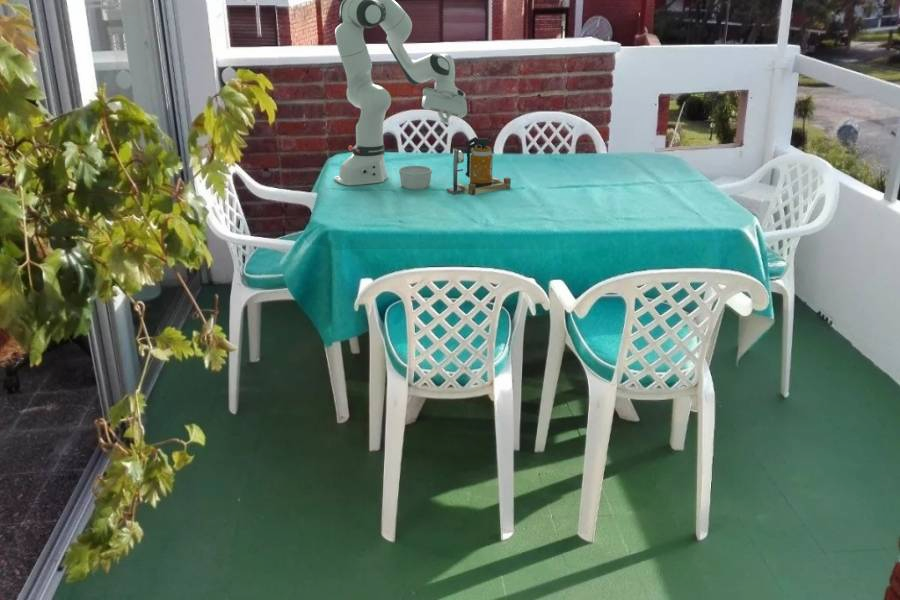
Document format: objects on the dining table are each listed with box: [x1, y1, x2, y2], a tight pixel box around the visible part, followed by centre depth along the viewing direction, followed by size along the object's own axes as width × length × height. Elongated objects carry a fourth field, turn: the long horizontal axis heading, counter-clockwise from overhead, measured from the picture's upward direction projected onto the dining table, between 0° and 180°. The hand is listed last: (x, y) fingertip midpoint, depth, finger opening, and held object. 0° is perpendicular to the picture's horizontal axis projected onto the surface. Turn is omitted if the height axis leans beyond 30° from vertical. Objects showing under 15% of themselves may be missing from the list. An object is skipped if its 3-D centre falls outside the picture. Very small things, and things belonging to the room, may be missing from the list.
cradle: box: [457, 176, 512, 196], centre depth 339 cm, size 13×20×4 cm, turn 125°
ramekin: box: [398, 165, 433, 191], centre depth 341 cm, size 13×13×7 cm
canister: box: [464, 136, 494, 188], centre depth 338 cm, size 9×11×20 cm
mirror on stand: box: [445, 148, 465, 195], centre depth 331 cm, size 6×5×17 cm
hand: (444, 122), depth 353 cm, fingers closed
